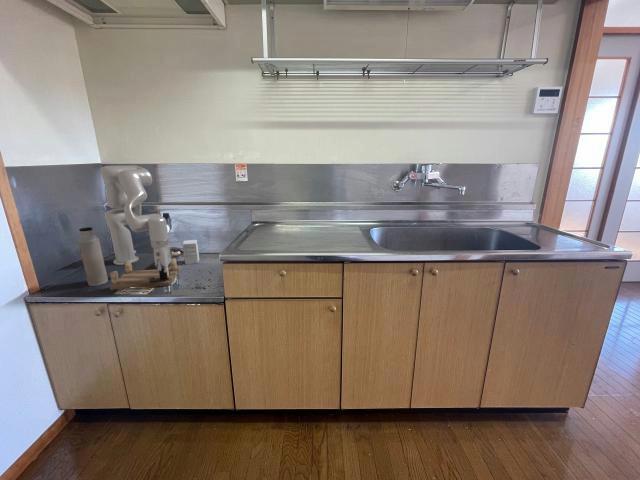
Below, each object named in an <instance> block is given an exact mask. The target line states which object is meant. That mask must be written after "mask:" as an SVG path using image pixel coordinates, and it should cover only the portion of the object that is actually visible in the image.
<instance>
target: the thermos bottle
mask: <svg viewBox="0 0 640 480" xmlns="http://www.w3.org/2000/svg"><path fill="white" fill-rule="evenodd" d="M79 234H80V235H78V236H77V237H78V241H77V245H78V249H79V253H80V256H81V260H82V264H83V268H84V273H85V277H86V281H87V284H88V286H92V287H93V286H94V287H95V286H96V287H97V286H101V285H104V284H106V283H107V282H109V279H108V273H107V269H106V266H105V261H104V260H105V259H104V255H103V252H102V247H101V242H100V239H99V237H98V236H97V234H96V233H94V230H93V227H88V226H87V227H82V228H79Z"/></svg>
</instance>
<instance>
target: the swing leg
mask: <svg viewBox="0 0 640 480" xmlns="http://www.w3.org/2000/svg"><path fill="white" fill-rule="evenodd" d="M165 268H166V272H167V277H168V279H170V277H169V271H168V267H165ZM162 269H164V268H162ZM168 279H167V280H168ZM154 281H160V277H158V278H154V277H151V278H149V282H154Z"/></svg>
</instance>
